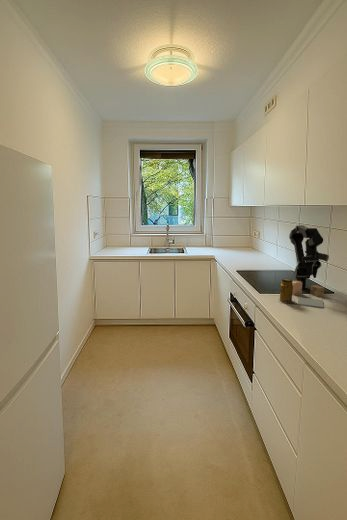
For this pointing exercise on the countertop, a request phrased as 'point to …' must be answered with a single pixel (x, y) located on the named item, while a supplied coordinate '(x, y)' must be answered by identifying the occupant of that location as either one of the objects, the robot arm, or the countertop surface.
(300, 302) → the slate mat
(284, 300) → the condiment
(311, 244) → the robot arm
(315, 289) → the walnut block
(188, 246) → the countertop surface
